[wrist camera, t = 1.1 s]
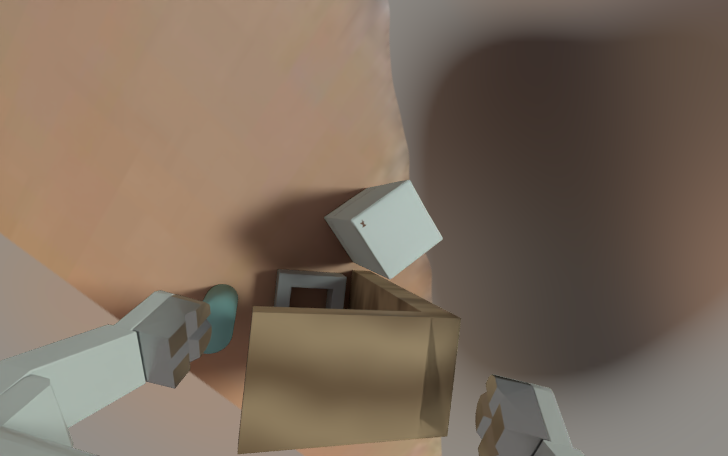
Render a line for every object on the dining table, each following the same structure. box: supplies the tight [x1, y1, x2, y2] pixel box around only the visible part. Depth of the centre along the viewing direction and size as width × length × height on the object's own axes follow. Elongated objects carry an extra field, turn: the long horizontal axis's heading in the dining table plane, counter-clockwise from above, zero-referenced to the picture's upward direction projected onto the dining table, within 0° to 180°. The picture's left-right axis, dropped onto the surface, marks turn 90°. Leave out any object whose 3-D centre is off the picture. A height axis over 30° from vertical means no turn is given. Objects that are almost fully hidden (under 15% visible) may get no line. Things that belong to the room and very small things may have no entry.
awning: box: [238, 270, 461, 454], centre depth 35 cm, size 9×15×22 cm, turn 83°
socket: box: [274, 269, 347, 309], centre depth 43 cm, size 8×8×3 cm
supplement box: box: [324, 180, 443, 279], centre depth 41 cm, size 7×7×13 cm
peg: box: [203, 284, 238, 354], centre depth 36 cm, size 4×4×12 cm
